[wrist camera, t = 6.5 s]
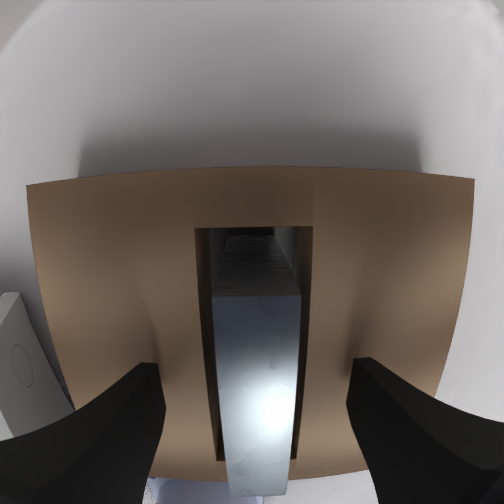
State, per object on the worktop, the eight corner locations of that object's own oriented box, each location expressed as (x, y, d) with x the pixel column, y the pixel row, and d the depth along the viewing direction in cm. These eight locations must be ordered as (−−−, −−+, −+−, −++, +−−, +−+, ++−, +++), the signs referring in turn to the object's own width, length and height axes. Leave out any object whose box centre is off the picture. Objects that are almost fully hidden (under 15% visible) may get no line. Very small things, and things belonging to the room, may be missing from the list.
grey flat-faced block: (272, 387, 16) (285, 494, 9) (234, 387, 16) (229, 496, 9) (274, 235, 14) (301, 295, 7) (228, 235, 14) (211, 297, 7)
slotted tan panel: (385, 415, 17) (408, 460, 13) (122, 421, 16) (102, 467, 13) (423, 174, 13) (474, 178, 9) (76, 179, 13) (26, 185, 9)
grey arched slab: (-28, 298, 14) (-110, 367, 5) (26, 280, 16) (-48, 352, 7) (74, 479, 19) (75, 574, 9) (123, 471, 20) (138, 571, 11)
